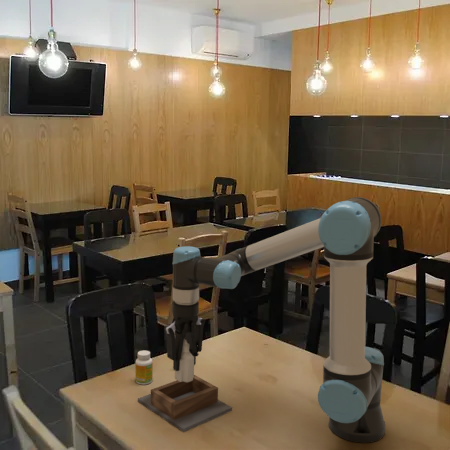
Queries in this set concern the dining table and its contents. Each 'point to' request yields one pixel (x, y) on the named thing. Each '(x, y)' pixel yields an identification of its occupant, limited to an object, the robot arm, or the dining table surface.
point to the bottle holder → (186, 403)
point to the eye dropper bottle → (187, 363)
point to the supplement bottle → (143, 368)
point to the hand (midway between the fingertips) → (184, 377)
